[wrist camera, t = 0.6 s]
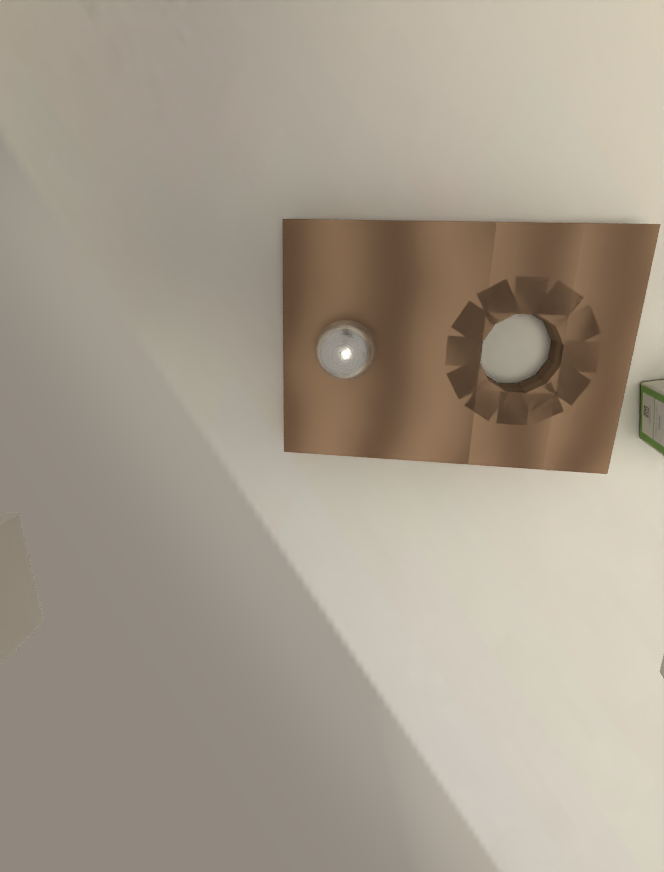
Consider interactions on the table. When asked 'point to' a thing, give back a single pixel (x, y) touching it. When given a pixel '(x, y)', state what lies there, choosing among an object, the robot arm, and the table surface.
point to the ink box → (652, 414)
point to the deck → (462, 338)
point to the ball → (345, 350)
